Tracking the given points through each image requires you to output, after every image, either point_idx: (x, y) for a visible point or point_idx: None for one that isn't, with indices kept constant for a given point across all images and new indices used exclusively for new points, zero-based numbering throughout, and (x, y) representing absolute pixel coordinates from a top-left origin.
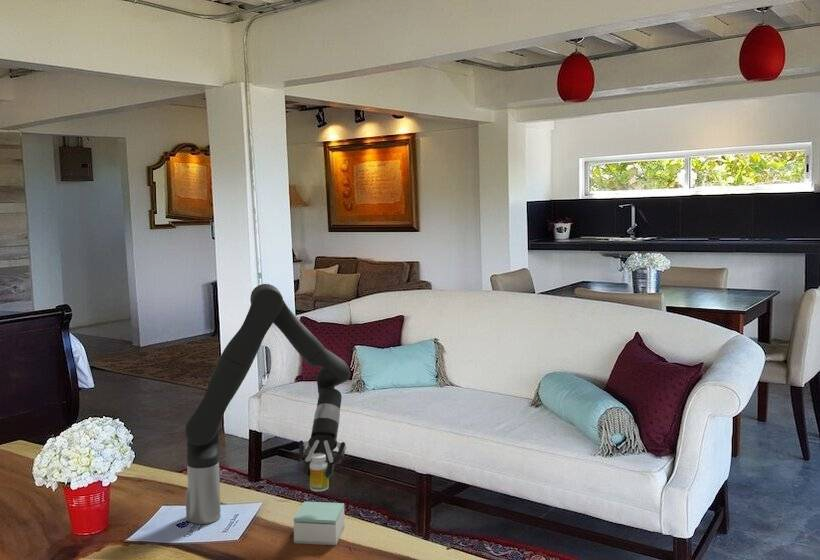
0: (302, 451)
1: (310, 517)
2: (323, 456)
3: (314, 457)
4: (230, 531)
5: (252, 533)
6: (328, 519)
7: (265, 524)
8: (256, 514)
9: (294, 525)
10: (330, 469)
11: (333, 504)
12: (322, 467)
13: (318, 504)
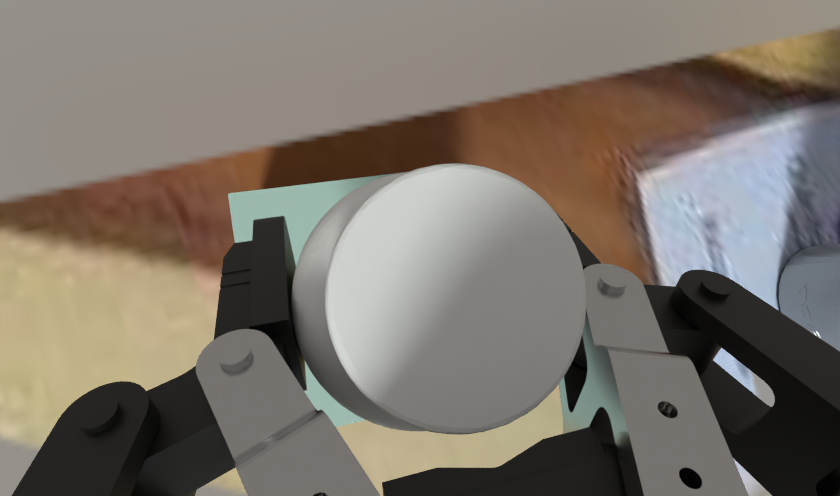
0: (803, 368)
1: None
2: (352, 269)
3: (496, 175)
4: (691, 227)
5: (614, 232)
6: (275, 198)
7: None
8: None
9: None
10: (246, 282)
11: (323, 403)
12: (335, 207)
13: None
